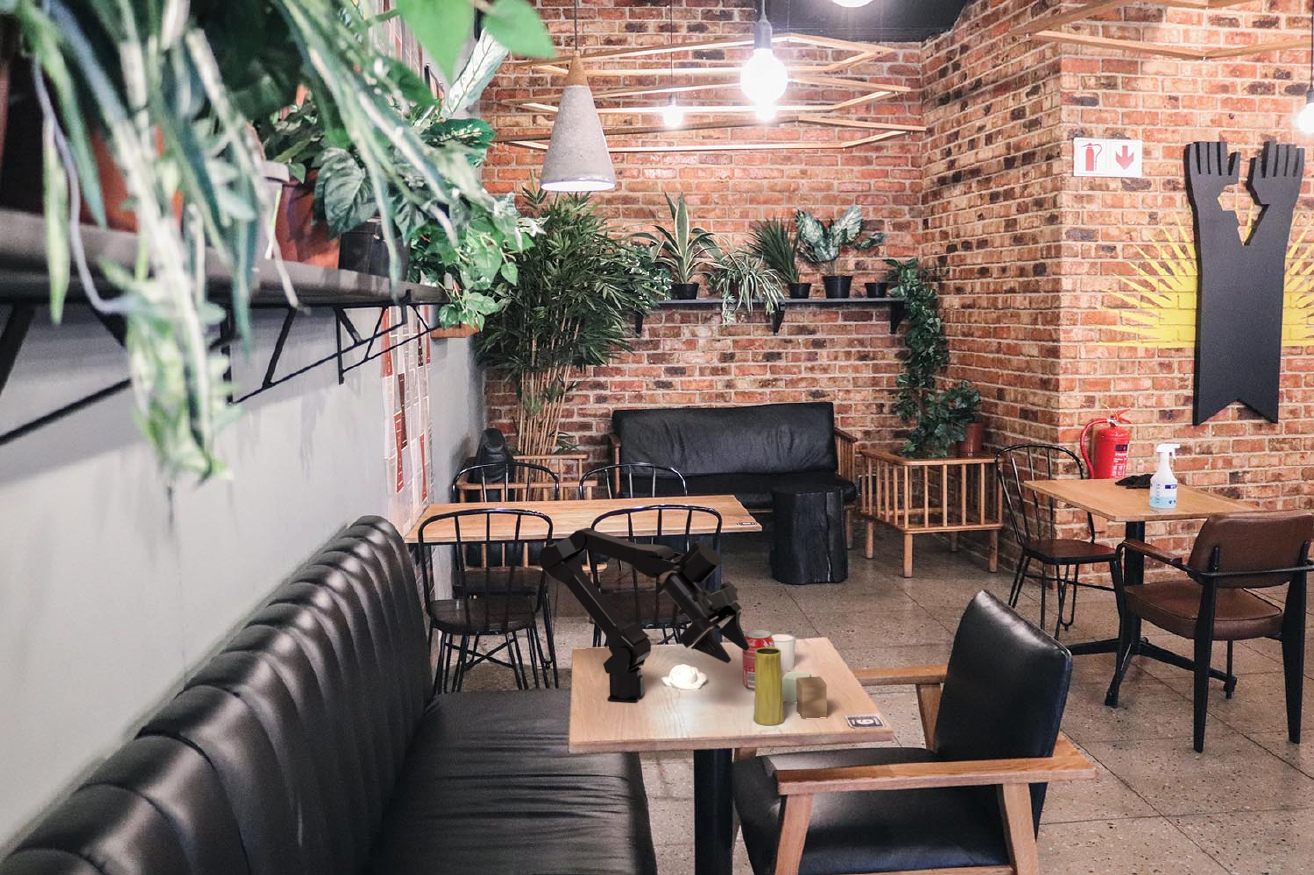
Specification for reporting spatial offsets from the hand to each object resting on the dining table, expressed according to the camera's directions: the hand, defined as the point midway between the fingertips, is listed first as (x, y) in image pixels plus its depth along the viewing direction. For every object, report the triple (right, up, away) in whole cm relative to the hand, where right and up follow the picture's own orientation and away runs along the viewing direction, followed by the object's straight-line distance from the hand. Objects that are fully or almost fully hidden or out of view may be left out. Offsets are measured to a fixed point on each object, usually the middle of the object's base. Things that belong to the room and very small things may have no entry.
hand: (738, 655), depth 216 cm
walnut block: (+15, -12, +1) cm, 19 cm away
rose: (-10, -11, +22) cm, 27 cm away
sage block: (+13, -11, +11) cm, 20 cm away
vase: (+6, -13, -2) cm, 14 cm away
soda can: (+6, -11, +19) cm, 22 cm away
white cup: (+12, -9, +33) cm, 36 cm away
